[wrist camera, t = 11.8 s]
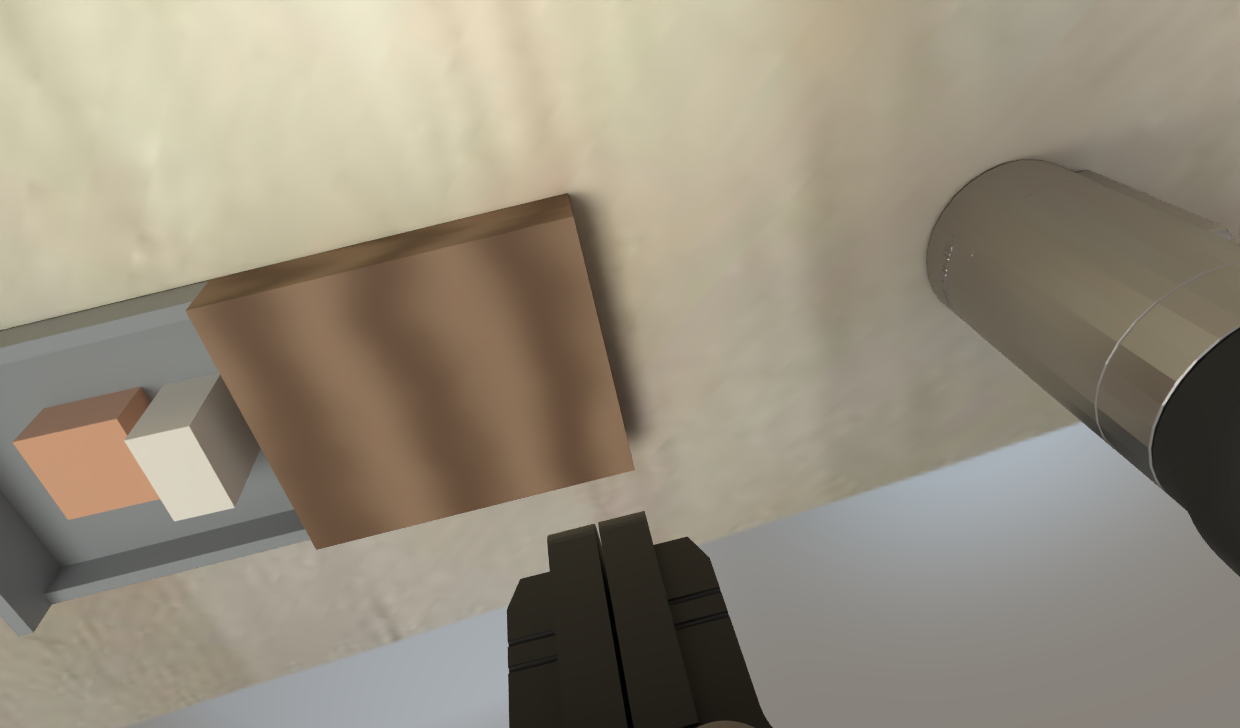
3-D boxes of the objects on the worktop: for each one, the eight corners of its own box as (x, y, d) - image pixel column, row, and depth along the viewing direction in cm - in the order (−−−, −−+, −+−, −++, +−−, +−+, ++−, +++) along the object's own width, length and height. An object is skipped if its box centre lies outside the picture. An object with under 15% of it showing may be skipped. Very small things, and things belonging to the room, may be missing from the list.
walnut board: (567, 193, 39) (573, 216, 36) (625, 433, 46) (634, 469, 43) (209, 280, 38) (185, 310, 35) (327, 508, 46) (316, 549, 43)
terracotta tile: (12, 442, 37) (43, 408, 40) (68, 520, 40) (94, 483, 42) (116, 418, 37) (141, 386, 40) (165, 497, 40) (185, 462, 43)
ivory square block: (189, 426, 36) (124, 440, 36) (234, 507, 38) (174, 521, 38) (221, 372, 40) (163, 385, 40) (260, 448, 43) (206, 460, 43)
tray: (209, 280, 38) (177, 320, 34) (327, 508, 46) (312, 562, 42) (-115, 358, 38) (-184, 408, 34) (59, 575, 45) (18, 636, 42)
